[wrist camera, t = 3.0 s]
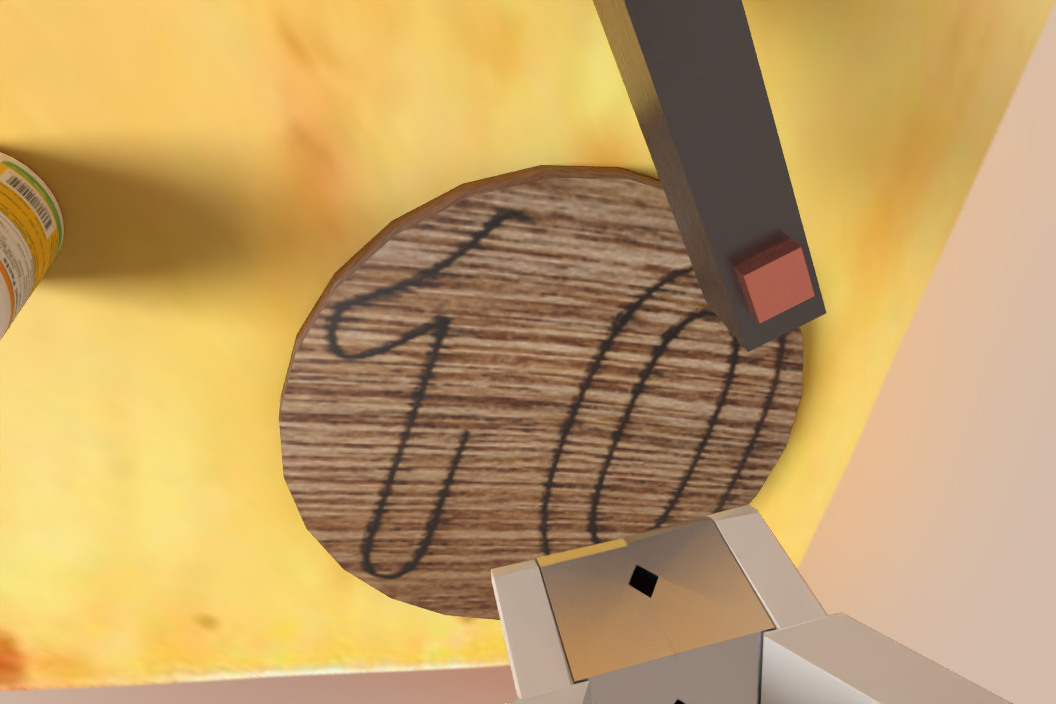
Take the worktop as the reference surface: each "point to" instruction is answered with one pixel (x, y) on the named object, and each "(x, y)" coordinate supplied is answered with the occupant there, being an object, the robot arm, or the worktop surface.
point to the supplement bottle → (24, 235)
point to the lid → (717, 158)
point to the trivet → (522, 387)
